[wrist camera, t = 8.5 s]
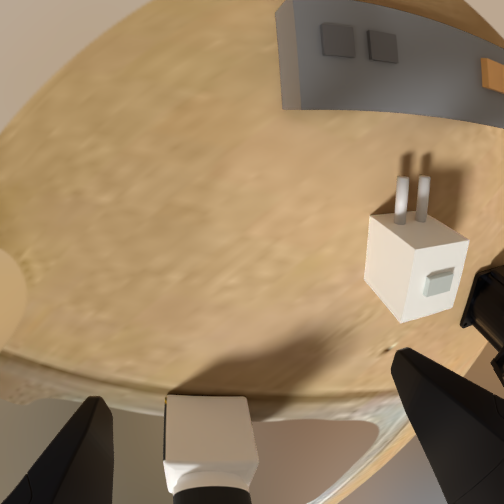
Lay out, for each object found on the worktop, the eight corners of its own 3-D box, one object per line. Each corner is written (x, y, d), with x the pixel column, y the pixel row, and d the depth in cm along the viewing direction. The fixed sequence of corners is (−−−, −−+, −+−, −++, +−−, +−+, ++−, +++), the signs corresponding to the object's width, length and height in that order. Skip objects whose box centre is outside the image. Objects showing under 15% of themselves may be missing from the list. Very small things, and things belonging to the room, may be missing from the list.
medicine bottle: (165, 392, 24) (163, 521, 14) (246, 394, 26) (272, 518, 15) (168, 434, 27) (170, 539, 17) (237, 435, 29) (255, 537, 18)
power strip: (477, 122, 18) (516, 131, 14) (282, 109, 16) (305, 109, 13) (475, 51, 15) (513, 50, 12) (275, 12, 14) (295, -11, 10)
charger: (411, 269, 23) (455, 311, 18) (363, 279, 22) (403, 327, 17) (423, 170, 19) (481, 194, 14) (371, 171, 19) (426, 197, 14)
